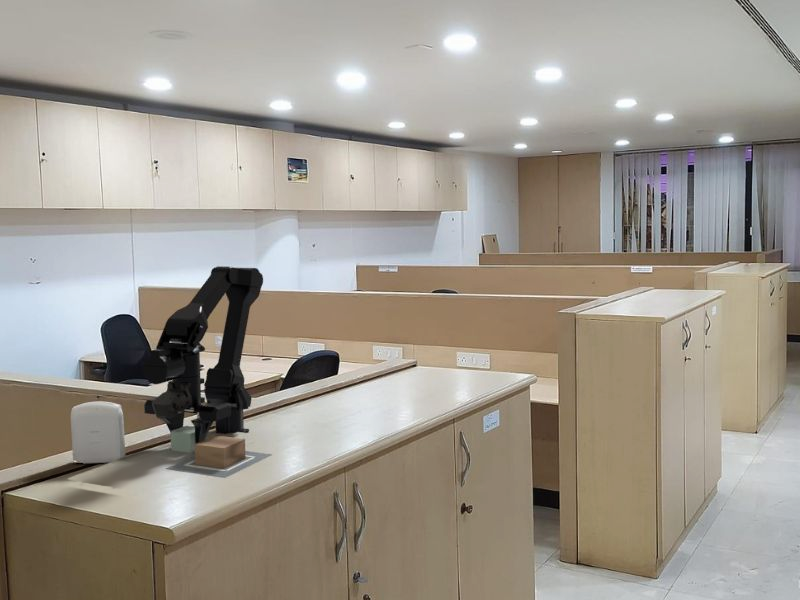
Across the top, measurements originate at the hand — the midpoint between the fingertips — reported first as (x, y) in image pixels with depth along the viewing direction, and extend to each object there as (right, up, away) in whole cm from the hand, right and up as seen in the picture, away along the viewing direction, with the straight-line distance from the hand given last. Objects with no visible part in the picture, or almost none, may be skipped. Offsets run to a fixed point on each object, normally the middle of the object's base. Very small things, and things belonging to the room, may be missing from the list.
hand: (188, 448), depth 164 cm
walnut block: (+9, -1, -9) cm, 13 cm away
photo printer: (-17, -2, -6) cm, 18 cm away
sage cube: (0, -1, 0) cm, 1 cm away
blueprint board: (+9, -2, -9) cm, 13 cm away
